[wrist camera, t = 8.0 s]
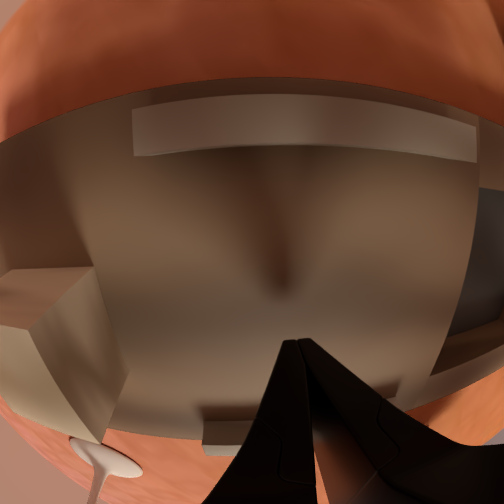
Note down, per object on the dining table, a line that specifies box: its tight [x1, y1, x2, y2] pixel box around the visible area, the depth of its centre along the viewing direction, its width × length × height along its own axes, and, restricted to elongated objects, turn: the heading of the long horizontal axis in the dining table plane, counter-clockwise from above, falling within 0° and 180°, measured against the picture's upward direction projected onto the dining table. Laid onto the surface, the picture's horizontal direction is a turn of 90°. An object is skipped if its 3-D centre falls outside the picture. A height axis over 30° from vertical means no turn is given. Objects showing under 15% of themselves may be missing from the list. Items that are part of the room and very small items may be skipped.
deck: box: [0, 77, 504, 456], centre depth 10 cm, size 16×34×4 cm, turn 93°
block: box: [0, 266, 129, 445], centre depth 7 cm, size 5×5×4 cm
